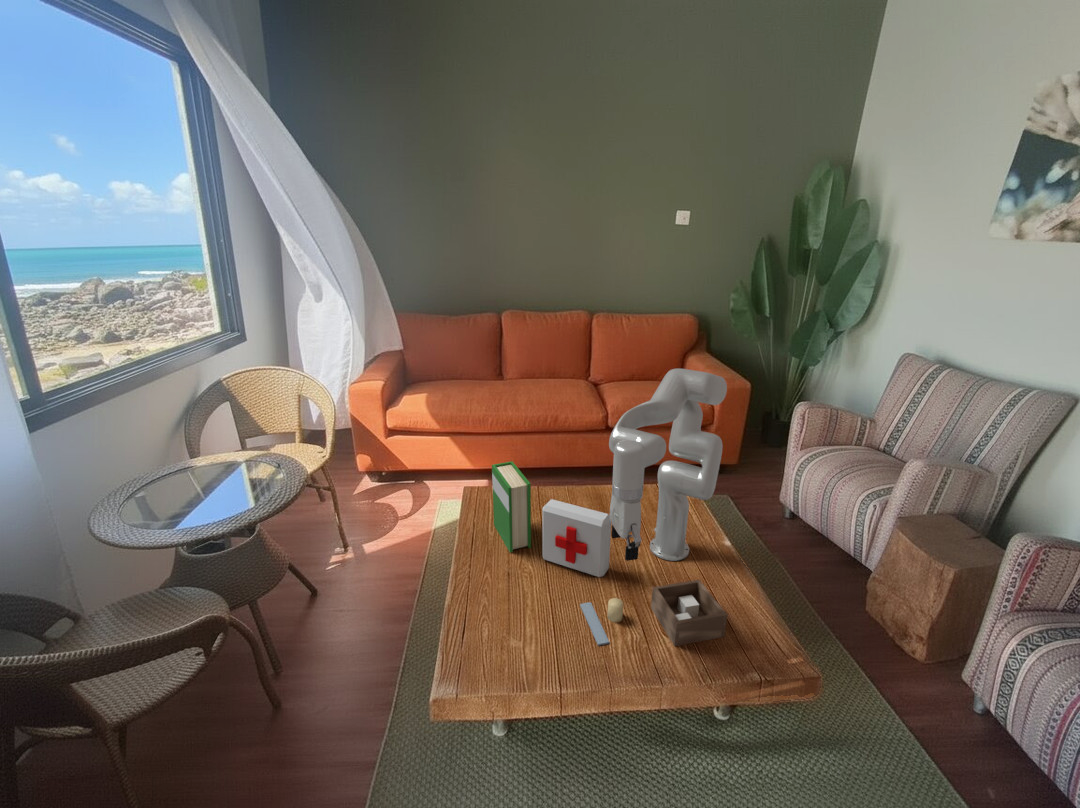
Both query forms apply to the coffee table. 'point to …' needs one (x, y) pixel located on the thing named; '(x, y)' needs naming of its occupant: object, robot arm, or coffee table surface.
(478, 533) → the coffee table surface
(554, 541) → the bevelled white case
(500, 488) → the hardback book
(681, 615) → the cube
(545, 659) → the coffee table surface
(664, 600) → the box
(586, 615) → the lid
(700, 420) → the robot arm
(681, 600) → the cube
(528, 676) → the coffee table surface
